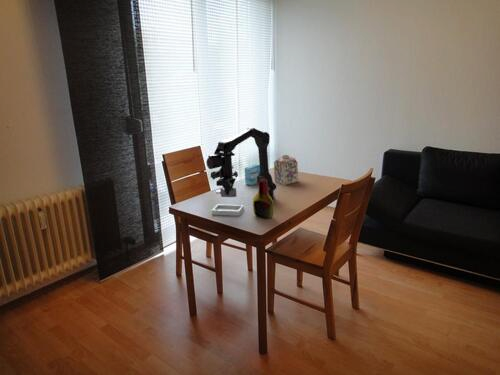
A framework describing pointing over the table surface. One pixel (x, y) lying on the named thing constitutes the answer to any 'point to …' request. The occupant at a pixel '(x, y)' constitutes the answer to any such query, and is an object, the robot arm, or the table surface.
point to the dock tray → (228, 209)
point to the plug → (223, 194)
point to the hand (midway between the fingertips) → (228, 193)
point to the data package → (252, 174)
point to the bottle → (263, 201)
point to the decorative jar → (286, 170)
